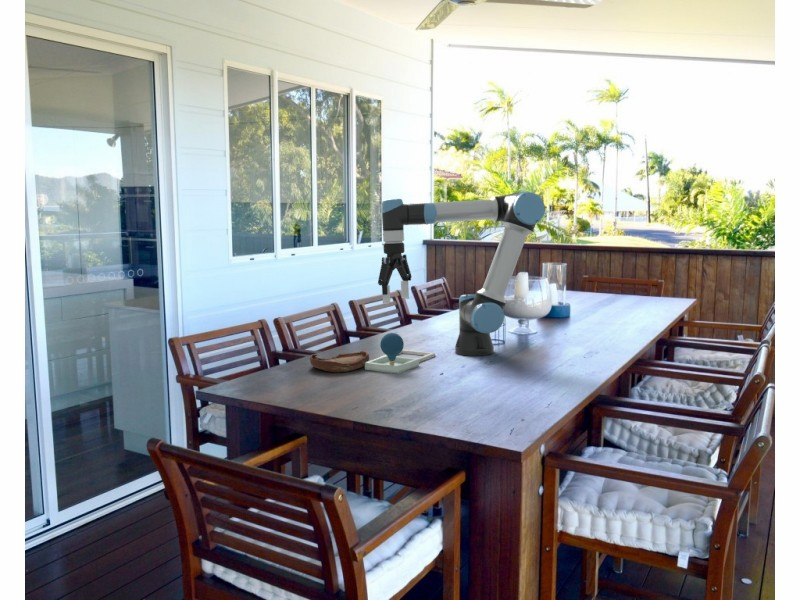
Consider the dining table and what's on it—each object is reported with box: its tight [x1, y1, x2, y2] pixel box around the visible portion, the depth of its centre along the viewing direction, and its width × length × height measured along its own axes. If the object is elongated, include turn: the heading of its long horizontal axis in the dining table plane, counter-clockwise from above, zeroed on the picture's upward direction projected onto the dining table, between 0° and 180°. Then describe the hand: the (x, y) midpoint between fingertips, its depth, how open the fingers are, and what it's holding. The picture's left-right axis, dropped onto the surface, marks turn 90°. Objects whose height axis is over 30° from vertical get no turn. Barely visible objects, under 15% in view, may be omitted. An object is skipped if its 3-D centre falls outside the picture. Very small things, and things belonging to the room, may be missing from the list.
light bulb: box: [379, 332, 405, 365], centre depth 249 cm, size 8×8×12 cm
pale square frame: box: [378, 349, 436, 363], centre depth 266 cm, size 16×16×1 cm
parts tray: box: [364, 354, 420, 375], centre depth 250 cm, size 14×14×2 cm
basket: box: [309, 350, 370, 373], centre depth 253 cm, size 22×20×5 cm
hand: (396, 301), depth 253 cm, fingers open, 13 cm apart
